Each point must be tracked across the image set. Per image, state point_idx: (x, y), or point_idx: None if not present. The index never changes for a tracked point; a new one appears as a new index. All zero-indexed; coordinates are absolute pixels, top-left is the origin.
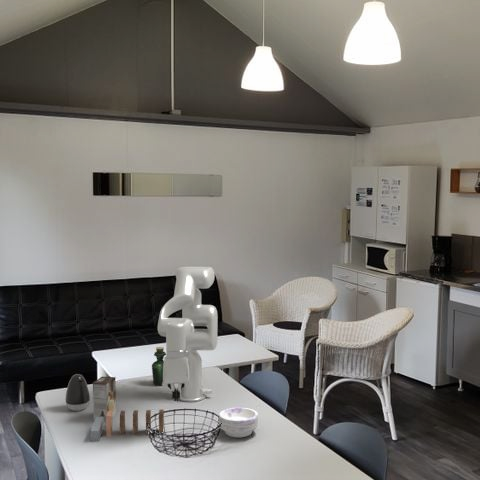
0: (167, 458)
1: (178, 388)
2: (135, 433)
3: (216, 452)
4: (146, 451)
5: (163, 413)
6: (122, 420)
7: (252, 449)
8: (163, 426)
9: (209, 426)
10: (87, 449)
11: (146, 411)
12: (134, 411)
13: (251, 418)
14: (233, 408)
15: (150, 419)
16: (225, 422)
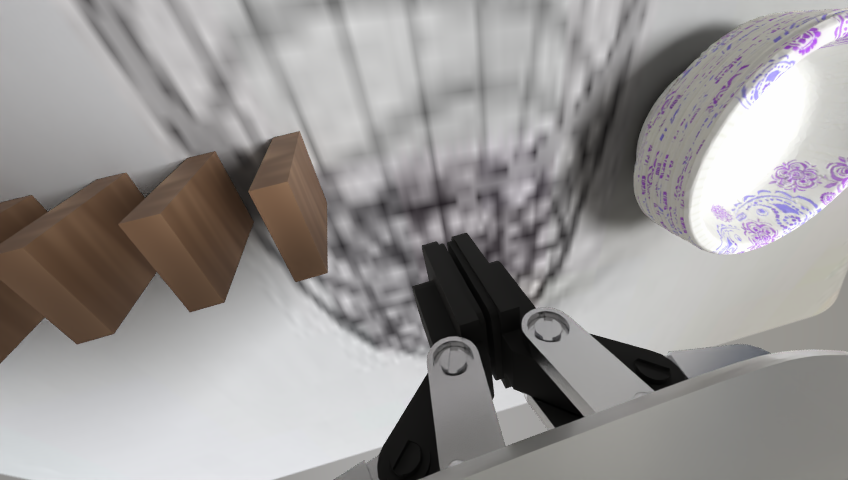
0: (415, 373)
1: (546, 410)
2: None
3: (567, 302)
4: (323, 359)
5: (294, 176)
6: (17, 335)
7: (679, 258)
8: (308, 165)
9: (573, 48)
10: (41, 416)
11: (147, 258)
12: (15, 280)
13: (816, 212)
14: (828, 42)
15: (210, 220)
16: (683, 236)
